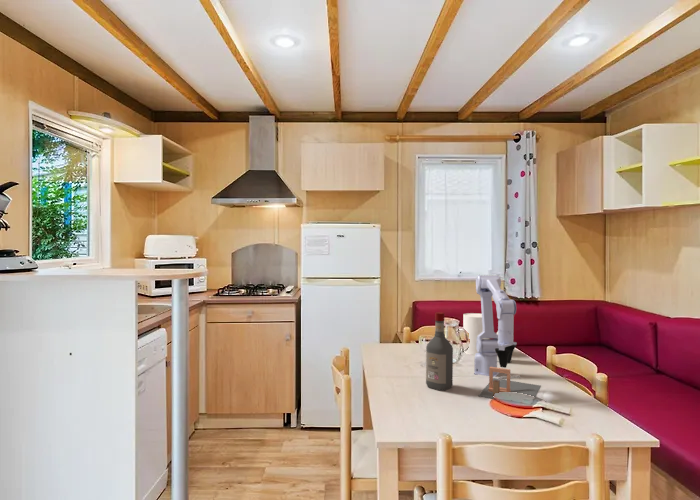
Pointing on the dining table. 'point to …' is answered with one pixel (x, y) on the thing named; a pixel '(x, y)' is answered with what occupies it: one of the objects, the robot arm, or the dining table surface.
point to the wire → (497, 382)
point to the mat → (513, 388)
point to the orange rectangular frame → (500, 370)
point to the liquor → (439, 358)
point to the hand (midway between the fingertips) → (505, 364)
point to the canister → (473, 330)
